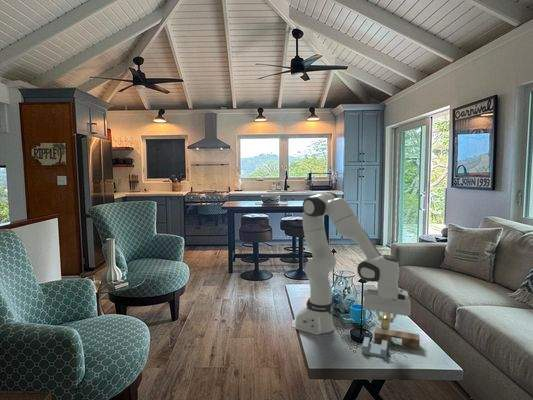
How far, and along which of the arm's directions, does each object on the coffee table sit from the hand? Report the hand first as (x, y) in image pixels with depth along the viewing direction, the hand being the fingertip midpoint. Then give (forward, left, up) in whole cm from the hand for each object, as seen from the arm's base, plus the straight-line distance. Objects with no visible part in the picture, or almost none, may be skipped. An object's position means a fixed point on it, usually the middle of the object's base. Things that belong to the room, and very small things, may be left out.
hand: (385, 321), depth 156 cm
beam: (+5, +12, -15) cm, 20 cm away
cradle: (-4, +1, -15) cm, 16 cm away
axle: (0, +1, -2) cm, 2 cm away
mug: (-14, +31, -16) cm, 37 cm away
